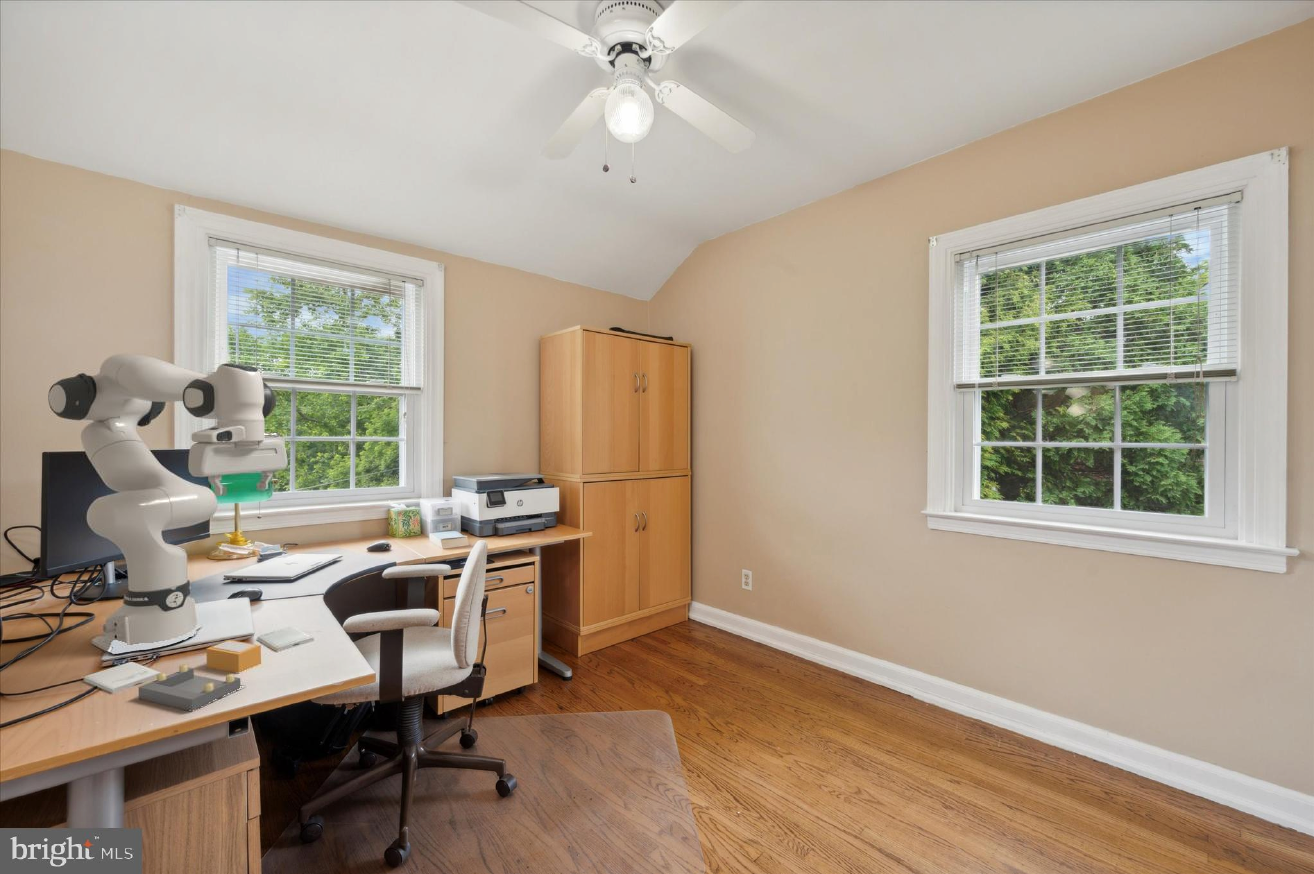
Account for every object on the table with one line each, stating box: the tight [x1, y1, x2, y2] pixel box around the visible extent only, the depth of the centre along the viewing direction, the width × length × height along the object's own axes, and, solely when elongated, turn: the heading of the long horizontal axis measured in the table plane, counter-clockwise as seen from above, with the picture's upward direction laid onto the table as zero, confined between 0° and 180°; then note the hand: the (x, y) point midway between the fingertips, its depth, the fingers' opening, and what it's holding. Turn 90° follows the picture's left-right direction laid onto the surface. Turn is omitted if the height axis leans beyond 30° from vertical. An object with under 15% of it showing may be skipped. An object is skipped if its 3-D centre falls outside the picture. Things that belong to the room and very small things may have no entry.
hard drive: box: [256, 626, 315, 653], centre depth 137 cm, size 2×8×12 cm
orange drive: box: [205, 639, 262, 674], centre depth 123 cm, size 10×5×5 cm, turn 73°
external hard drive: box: [83, 661, 162, 694], centre depth 116 cm, size 2×8×12 cm
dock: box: [138, 663, 245, 712], centre depth 111 cm, size 16×10×4 cm, turn 73°
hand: (242, 492), depth 125 cm, fingers open, 8 cm apart
